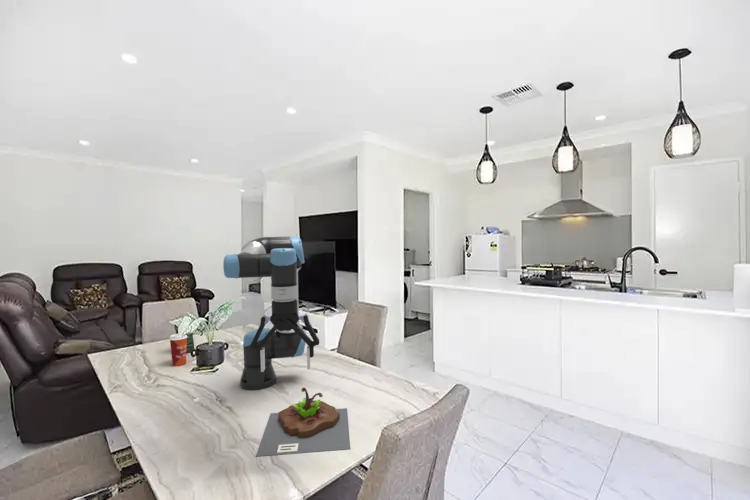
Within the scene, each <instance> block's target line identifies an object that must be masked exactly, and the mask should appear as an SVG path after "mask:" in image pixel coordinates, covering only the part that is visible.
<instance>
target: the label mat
mask: <svg viewBox="0 0 750 500" xmlns="http://www.w3.org/2000/svg"><path fill="white" fill-rule="evenodd" d="M335 411H337V412H339V413H340V419H339V420H338V422H337V423H336V424H335V425H334V426H333V427H329V428H327V429H324V430H322V431H320V432H318V433H316V434H315V435H313V436H310V437H299V436H298V435H289V433H288V432H284V428H283V427H282V426H281V423H280V422H279V421H278V412H272V413H271V412H270V414H269V417H268V419H267V422H266V425H265V428H264V431H263V434H262V438H261V440H260V443H259V446H258V448H257V451H256V455H255V457H256V458H257V457H267V456H268V457H270V456H281V455H292V454H293V455H294V454H295V455H296V454H305V453H319V452H331V451H345V450H351V440H350V429H349V428H350V427H349V414H348V413H349V412H348V407H344V408H335Z"/></svg>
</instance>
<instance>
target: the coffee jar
mask: <svg viewBox="0 0 750 500" xmlns="http://www.w3.org/2000/svg"><path fill="white" fill-rule="evenodd" d="M173 328H174V330H175V334H178V327H177V326H176V325H175V324H174V327H173ZM193 335H194V332H193V333H191V334H188V335H187V336H188V337H187V350H186V354H188V353H189V354H190V353H192V352H194V351H195V342H194V336H193ZM193 350H194V351H193Z"/></svg>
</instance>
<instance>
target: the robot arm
mask: <svg viewBox="0 0 750 500" xmlns="http://www.w3.org/2000/svg"><path fill="white" fill-rule="evenodd" d="M302 264H305V255H304V248H303V243H302V238H300V237H298V236H264V237H263V236H262V237H258V238H256V239H253V240H252V239H251V240H250V241H248V242H246V243H245V244H244V245H243V246H242V248H241V250H240V252H239V253H237V254H236V253H233V254H226V255H225V256H224V257H223V264H222V265H223V267H222V268H223V274H224V277H225V278H228V279H236V280H237V279H245V278H246V279H247V278H270V279H271V282H270V283H271V284H270V288H271V289H270V291H271V292H270V293H271V295H270V296H271V300H272V301H271V316H266V315H265V314H264V315H262V316H261V318H260V323H259V326H258V329H257V328H256V329H253V330H251V331H249V332H246V333H245V335H244V336H243V339H242V341H243V344H242V347H243V369H242V373H241V376H240V381H239V383H240V384H239V385H240V388H242V389H243V390H249V391H252V390H253V391H254V390H255V391H256V390H262V389H266V388H269V387H271V386H273V385H275V383H277V374H276V372H275V370H274V366H273V362H272V360H275V359H285V358H296V357H301V356H303V355H304V352H305V346H306V345H307V346H306V364H307V365H306V366H307V367H306V370H310V369H311V358H314V355H315V353H314V351H315V350H314V349H315V348H314V347H316V346H319V345H320V339H319V337H318V335H317V334H316V332H315V329H314V328H313V326H312V324H311V322H310V320H309V315H308V313H305V314H303V315H302V314H301V315H300V313H299V312H300V311H299V310H300V307H299V303H300V302H299V271H300V270H301V269H302ZM300 321H301V322H302V323H303V324H304V326H305V328H306V329H304V328H303V324H301V323H300ZM269 322H271V324H272V325H273V326H272V327H271V328H268V327H265V326H266V325H267V324H268V323H269ZM306 330H307V331H306ZM307 332H308V334H309V335H310V337H311V338H310V337H309V336H308V334H307Z"/></svg>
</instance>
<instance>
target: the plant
mask: <svg viewBox="0 0 750 500" xmlns="http://www.w3.org/2000/svg"><path fill="white" fill-rule="evenodd" d="M301 392H302V393H304V392H305V397H304V398H302V401H300V400H299V401H298V403H294V404H291V405H289V406H288V407H286V408H285V409H282V410H281V411H279V412H277V413H278V421H279V422H280V423H281V426H282V427H283V428H284V432H288V433H289V435H298V436H299V437H310V436H313V435H315V434H316V433H318V432H320V431H322V430H324V429H327V428H329V427H333V426H334V425H335V424H336V423H337V422H338V420H339V419H340V413H339V412H337V411H335V409H336V407H335V406H333V405H330V404H329V403H326V402H325V401H322V400H321V399H320V398H323V396H324V394H323V393H322V392H317V393H315V394H314V395H312V397H310V396H309V392H308V390H307V388H306V387H304V386H303V387H301ZM317 396H318V397H319V399H317V400H314V399H315V398H316V397H317Z"/></svg>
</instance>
